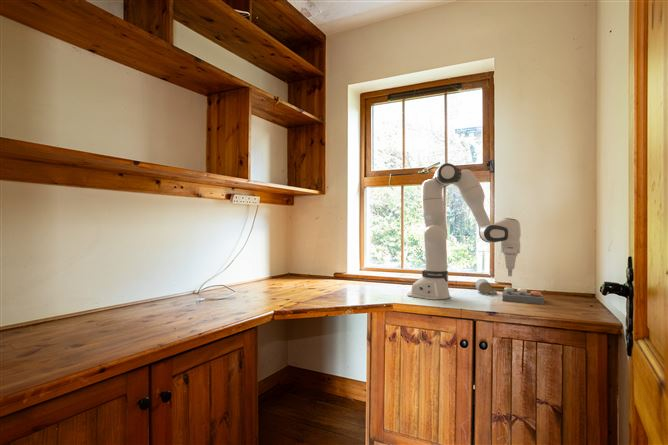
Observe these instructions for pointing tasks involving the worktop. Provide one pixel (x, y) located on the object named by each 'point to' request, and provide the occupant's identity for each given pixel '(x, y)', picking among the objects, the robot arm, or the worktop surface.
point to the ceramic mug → (484, 287)
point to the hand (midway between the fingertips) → (509, 276)
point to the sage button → (509, 290)
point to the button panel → (522, 298)
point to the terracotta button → (535, 293)
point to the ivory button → (521, 291)
